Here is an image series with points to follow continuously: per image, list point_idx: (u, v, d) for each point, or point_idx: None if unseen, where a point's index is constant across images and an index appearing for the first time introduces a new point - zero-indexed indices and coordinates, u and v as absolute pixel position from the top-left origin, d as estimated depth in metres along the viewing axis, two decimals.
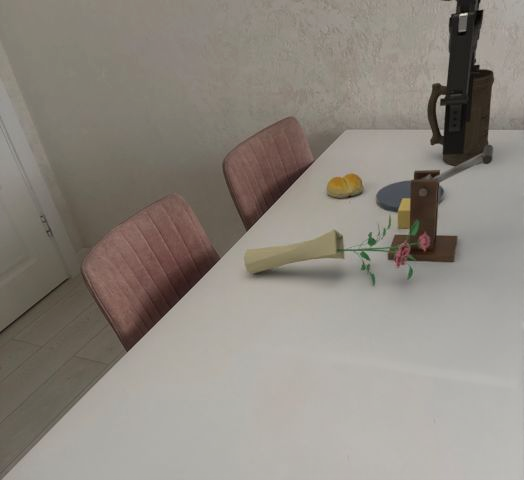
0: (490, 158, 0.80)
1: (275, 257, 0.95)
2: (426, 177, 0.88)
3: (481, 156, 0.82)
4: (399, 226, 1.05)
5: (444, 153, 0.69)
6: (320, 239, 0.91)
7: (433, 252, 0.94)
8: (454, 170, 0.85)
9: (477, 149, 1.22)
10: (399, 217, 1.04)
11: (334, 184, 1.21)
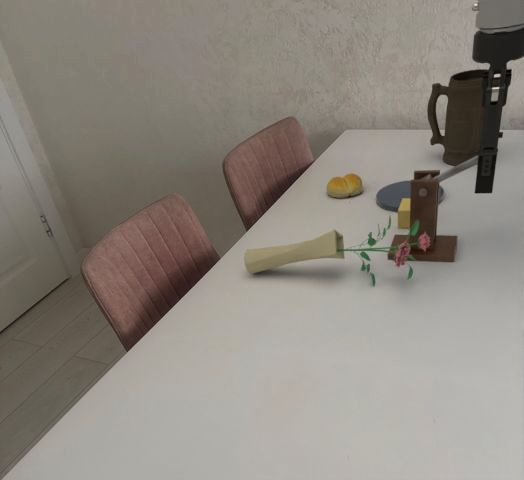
0: None
1: (275, 257, 0.95)
2: (426, 177, 0.88)
3: None
4: (399, 226, 1.05)
5: (476, 192, 0.83)
6: (320, 239, 0.91)
7: (433, 252, 0.94)
8: (454, 170, 0.85)
9: (477, 149, 1.22)
10: (399, 217, 1.04)
11: (334, 184, 1.21)
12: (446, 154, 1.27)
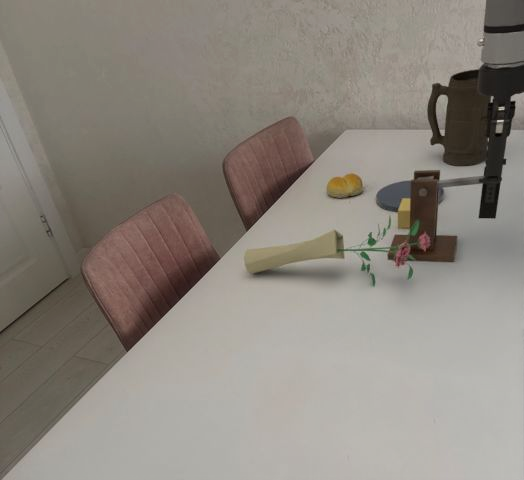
0: None
1: (275, 257, 0.95)
2: (429, 178, 0.88)
3: None
4: (399, 226, 1.05)
5: (480, 217, 0.86)
6: (320, 239, 0.91)
7: (433, 252, 0.94)
8: (458, 182, 0.86)
9: (477, 149, 1.22)
10: (399, 217, 1.04)
11: (334, 184, 1.21)
12: (446, 154, 1.27)
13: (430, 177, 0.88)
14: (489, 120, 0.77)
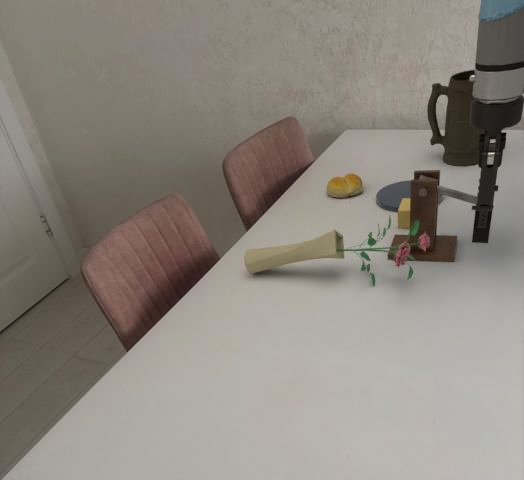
0: None
1: (275, 257, 0.95)
2: None
3: None
4: (399, 226, 1.05)
5: (473, 241, 0.89)
6: (320, 239, 0.91)
7: (433, 252, 0.94)
8: (456, 194, 0.87)
9: (477, 149, 1.22)
10: (399, 217, 1.04)
11: (334, 184, 1.21)
12: (446, 154, 1.27)
13: None
14: (481, 151, 0.80)
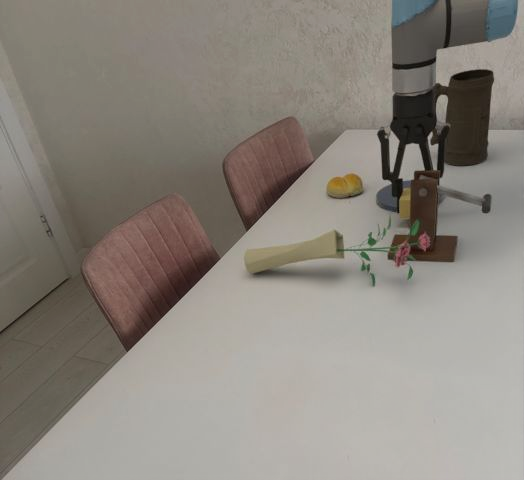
0: (488, 210, 0.85)
1: (275, 257, 0.95)
2: None
3: (482, 201, 0.87)
4: (401, 216, 1.04)
5: None
6: (320, 239, 0.91)
7: (433, 252, 0.94)
8: (456, 194, 0.87)
9: (477, 149, 1.22)
10: (400, 207, 1.02)
11: (334, 184, 1.21)
12: (446, 154, 1.27)
13: None
14: None
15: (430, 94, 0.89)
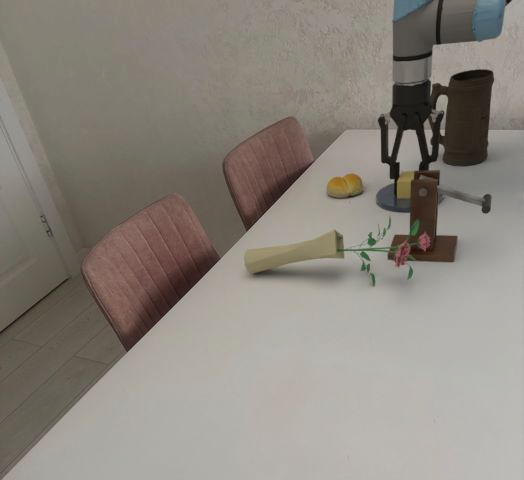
0: (488, 210, 0.85)
1: (275, 257, 0.95)
2: None
3: (482, 201, 0.87)
4: (398, 196, 1.13)
5: None
6: (320, 239, 0.91)
7: (433, 252, 0.94)
8: (456, 194, 0.87)
9: (477, 149, 1.22)
10: (398, 188, 1.12)
11: (334, 184, 1.21)
12: (446, 154, 1.27)
13: None
14: None
15: (426, 84, 0.98)
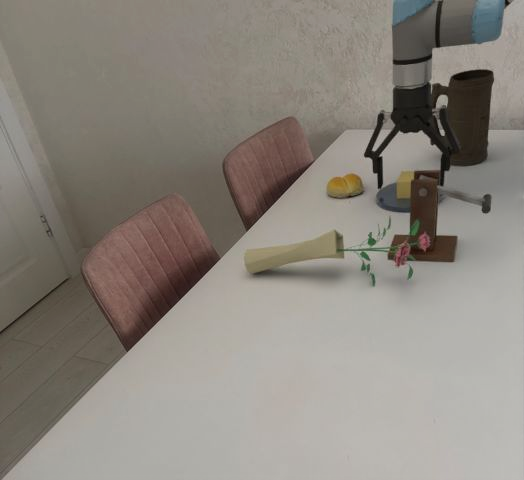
0: (488, 210, 0.85)
1: (275, 257, 0.95)
2: None
3: (482, 201, 0.87)
4: (398, 197, 1.13)
5: None
6: (320, 239, 0.91)
7: (433, 252, 0.94)
8: (456, 194, 0.87)
9: (477, 149, 1.22)
10: (398, 188, 1.12)
11: (334, 184, 1.21)
12: None
13: None
14: None
15: (426, 87, 0.99)
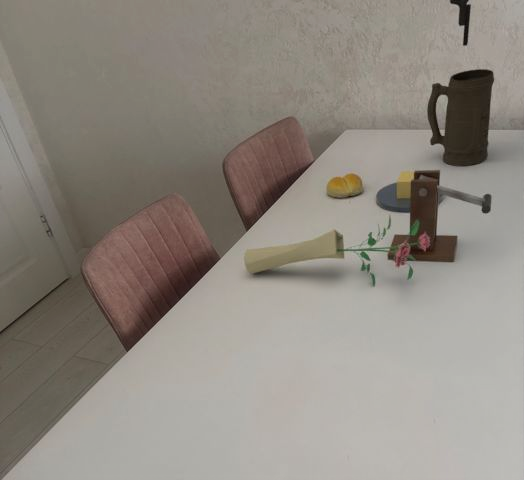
0: (488, 210, 0.85)
1: (275, 257, 0.95)
2: None
3: (482, 201, 0.87)
4: (398, 197, 1.13)
5: None
6: (320, 239, 0.91)
7: (433, 252, 0.94)
8: (456, 194, 0.87)
9: (477, 149, 1.22)
10: (398, 188, 1.12)
11: (334, 184, 1.21)
12: (446, 154, 1.27)
13: None
14: None
15: None
